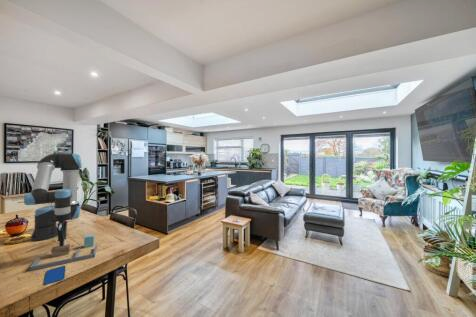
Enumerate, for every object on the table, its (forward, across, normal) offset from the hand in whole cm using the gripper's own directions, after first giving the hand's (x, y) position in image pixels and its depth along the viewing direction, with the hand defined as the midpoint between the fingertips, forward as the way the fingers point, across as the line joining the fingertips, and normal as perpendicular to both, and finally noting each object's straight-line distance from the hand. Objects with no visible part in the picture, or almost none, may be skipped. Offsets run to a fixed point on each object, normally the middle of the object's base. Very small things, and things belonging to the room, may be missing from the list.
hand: (62, 250), depth 119 cm
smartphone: (+2, +30, +3) cm, 30 cm away
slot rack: (+2, +11, +4) cm, 12 cm away
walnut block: (+2, +3, 0) cm, 3 cm away
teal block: (+2, -3, +14) cm, 14 cm away
